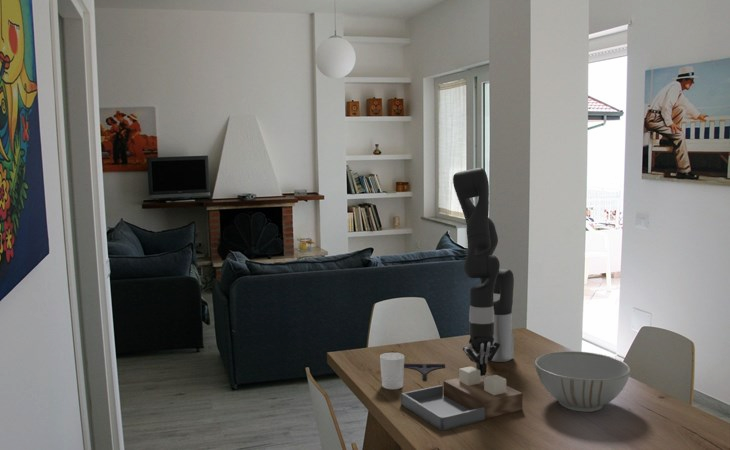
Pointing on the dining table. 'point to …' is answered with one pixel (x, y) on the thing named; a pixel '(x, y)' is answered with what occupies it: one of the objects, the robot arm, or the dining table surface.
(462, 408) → the tray
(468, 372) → the cream cube
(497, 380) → the off-white cube
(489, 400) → the walnut board
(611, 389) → the decorative bowl
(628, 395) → the dining table surface
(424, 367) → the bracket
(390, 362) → the white cup
